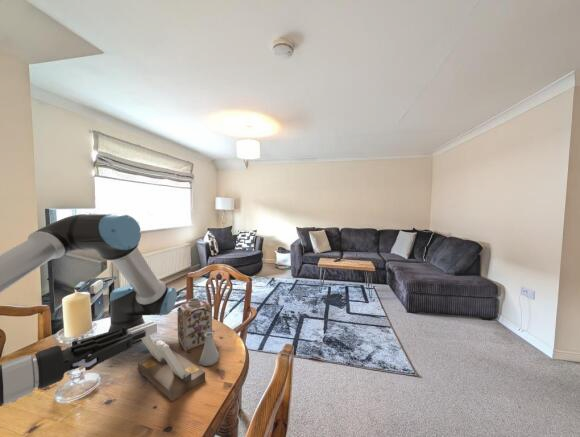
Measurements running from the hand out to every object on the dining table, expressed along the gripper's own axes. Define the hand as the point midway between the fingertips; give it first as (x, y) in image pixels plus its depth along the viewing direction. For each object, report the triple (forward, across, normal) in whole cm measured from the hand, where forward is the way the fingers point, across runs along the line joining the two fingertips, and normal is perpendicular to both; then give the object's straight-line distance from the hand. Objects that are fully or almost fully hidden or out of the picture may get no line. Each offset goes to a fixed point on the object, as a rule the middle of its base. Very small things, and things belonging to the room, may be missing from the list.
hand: (154, 326), depth 67 cm
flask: (+20, -3, -22) cm, 30 cm away
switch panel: (+8, -8, -22) cm, 25 cm away
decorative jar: (+25, -20, -22) cm, 39 cm away
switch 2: (+8, 0, -20) cm, 21 cm away
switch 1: (+8, -15, -20) cm, 26 cm away
